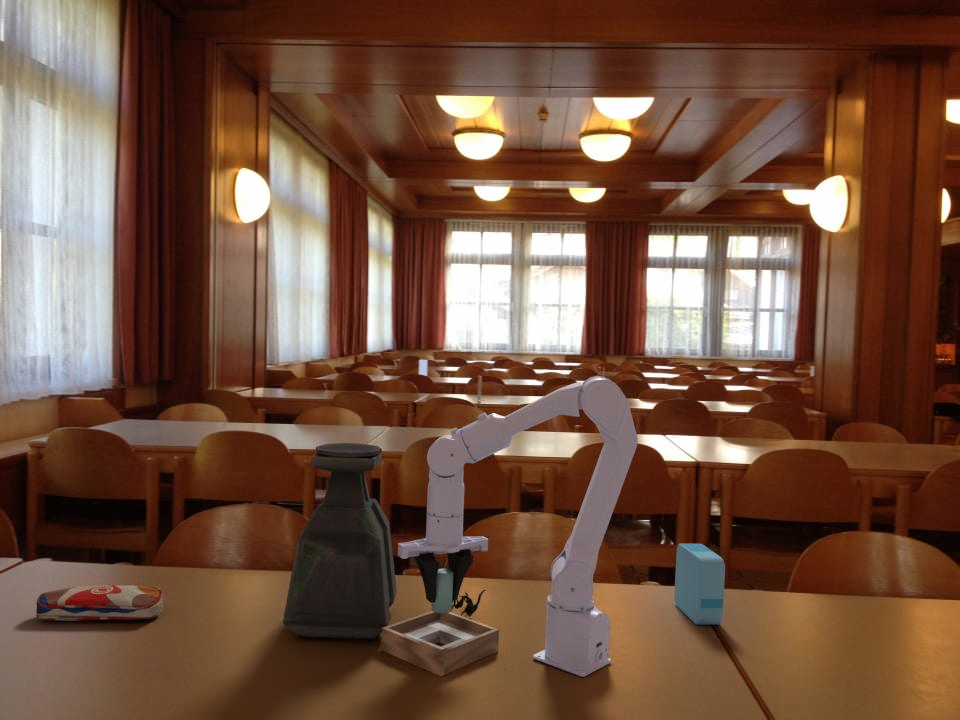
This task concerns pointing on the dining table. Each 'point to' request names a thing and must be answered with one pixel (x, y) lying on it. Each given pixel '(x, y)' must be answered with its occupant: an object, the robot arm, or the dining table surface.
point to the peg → (443, 591)
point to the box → (453, 630)
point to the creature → (470, 606)
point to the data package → (699, 583)
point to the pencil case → (100, 603)
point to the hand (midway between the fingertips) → (441, 599)
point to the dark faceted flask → (343, 554)
